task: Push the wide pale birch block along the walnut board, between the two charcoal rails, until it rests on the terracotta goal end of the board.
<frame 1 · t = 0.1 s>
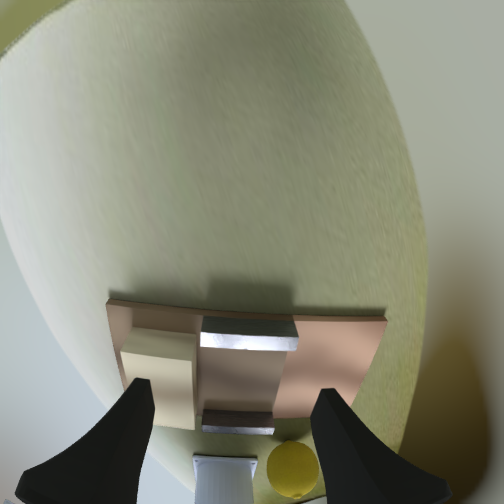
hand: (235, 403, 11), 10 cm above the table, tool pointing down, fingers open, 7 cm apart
lemon: (287, 439, 28), on the table
channel: (242, 385, 21), on the board, point 1 cm above the table
board: (244, 370, 23), on the table
block: (167, 370, 22), point 1 cm above the table, touching board
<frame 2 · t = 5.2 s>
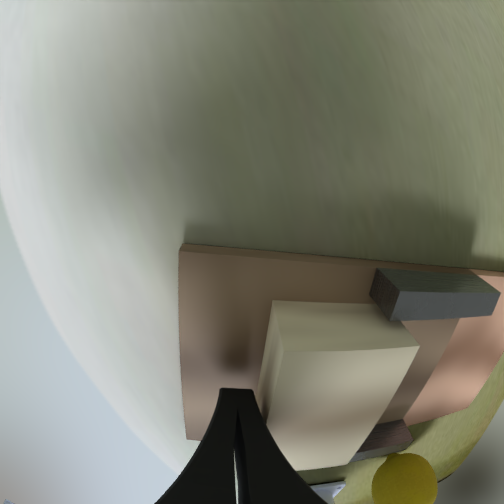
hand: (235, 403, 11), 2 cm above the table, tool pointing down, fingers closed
lemon: (390, 452, 19), on the table
channel: (399, 386, 12), on the board, point 1 cm above the table
board: (390, 364, 14), on the table
block: (311, 378, 13), point 1 cm above the table
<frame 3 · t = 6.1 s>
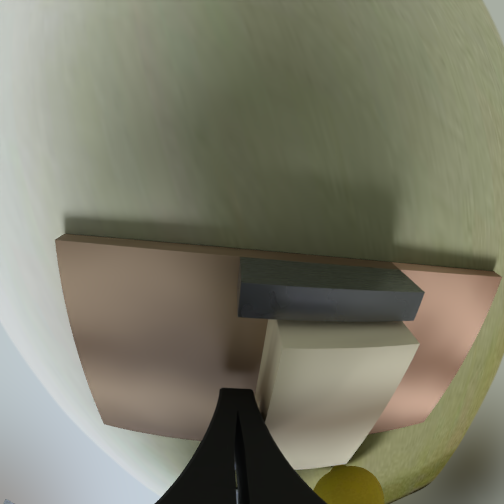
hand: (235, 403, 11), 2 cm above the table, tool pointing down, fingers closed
lemon: (336, 462, 18), on the table
channel: (301, 395, 12), on the board, point 1 cm above the table
board: (300, 369, 13), on the table
block: (310, 377, 13), point 1 cm above the table, touching gripper
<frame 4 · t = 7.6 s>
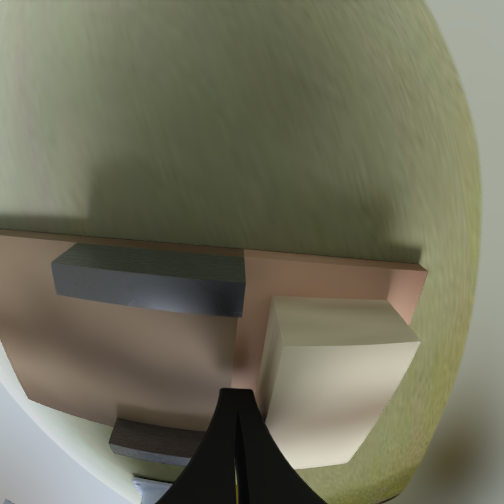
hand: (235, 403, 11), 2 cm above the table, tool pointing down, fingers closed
channel: (157, 386, 11), on the board, point 1 cm above the table
board: (169, 361, 13), on the table
block: (311, 375, 13), point 1 cm above the table, touching board, gripper
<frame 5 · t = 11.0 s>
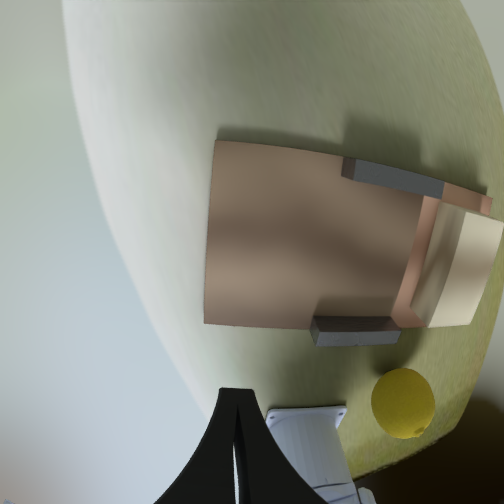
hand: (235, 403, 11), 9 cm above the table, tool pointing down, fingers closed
lemon: (385, 372, 24), on the table
channel: (377, 261, 17), on the board, point 1 cm above the table
board: (370, 251, 19), on the table
block: (447, 259, 19), point 1 cm above the table, touching board
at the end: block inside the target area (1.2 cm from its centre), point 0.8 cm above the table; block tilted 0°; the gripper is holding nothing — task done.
